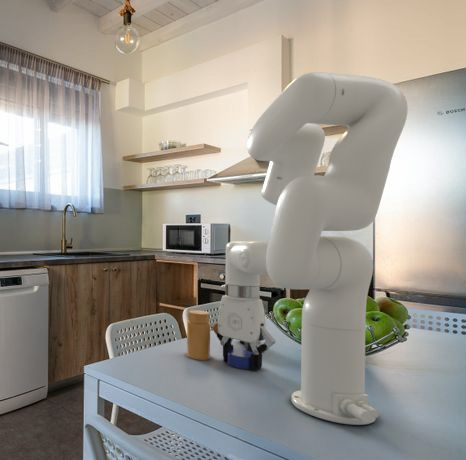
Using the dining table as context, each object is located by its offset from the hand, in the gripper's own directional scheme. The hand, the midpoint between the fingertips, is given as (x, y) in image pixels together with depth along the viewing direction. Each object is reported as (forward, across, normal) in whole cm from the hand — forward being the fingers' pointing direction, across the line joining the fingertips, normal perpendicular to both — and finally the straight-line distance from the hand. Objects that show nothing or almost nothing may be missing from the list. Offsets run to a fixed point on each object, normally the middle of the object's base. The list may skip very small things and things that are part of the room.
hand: (241, 365), depth 97 cm
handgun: (0, -7, +15) cm, 16 cm away
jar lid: (0, 0, 0) cm, 0 cm away
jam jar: (0, -10, -4) cm, 10 cm away
